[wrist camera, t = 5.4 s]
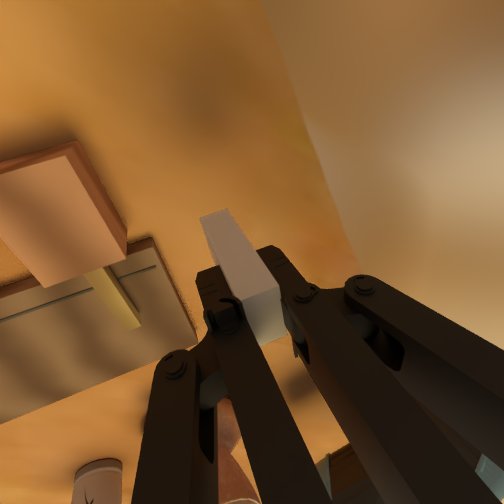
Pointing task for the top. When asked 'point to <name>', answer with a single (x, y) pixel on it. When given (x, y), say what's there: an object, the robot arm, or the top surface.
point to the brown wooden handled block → (64, 223)
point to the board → (85, 332)
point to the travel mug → (98, 483)
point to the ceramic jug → (231, 460)
